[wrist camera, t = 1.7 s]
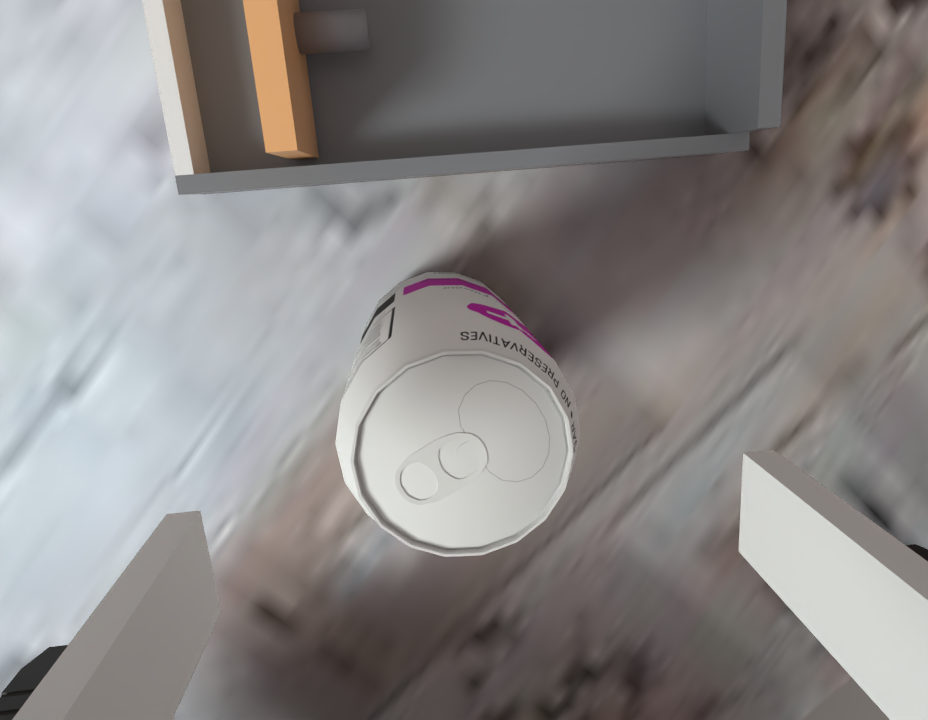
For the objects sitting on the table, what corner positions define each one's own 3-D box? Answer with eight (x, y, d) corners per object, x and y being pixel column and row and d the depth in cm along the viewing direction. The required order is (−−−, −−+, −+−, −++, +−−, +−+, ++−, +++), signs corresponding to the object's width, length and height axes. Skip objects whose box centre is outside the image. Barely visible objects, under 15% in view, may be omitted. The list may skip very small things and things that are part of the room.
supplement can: (467, 240, 33) (513, 278, 18) (541, 370, 35) (634, 495, 21) (334, 319, 33) (277, 417, 19) (416, 442, 35) (420, 615, 21)
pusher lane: (714, 154, 33) (779, 146, 27) (203, 194, 31) (156, 194, 25) (721, -124, 29) (798, -201, 24) (151, -95, 28) (84, -171, 22)
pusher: (382, 153, 30) (375, 144, 24) (293, 160, 30) (265, 152, 24) (357, -87, 27) (343, -162, 22) (259, -82, 27) (219, -157, 21)
